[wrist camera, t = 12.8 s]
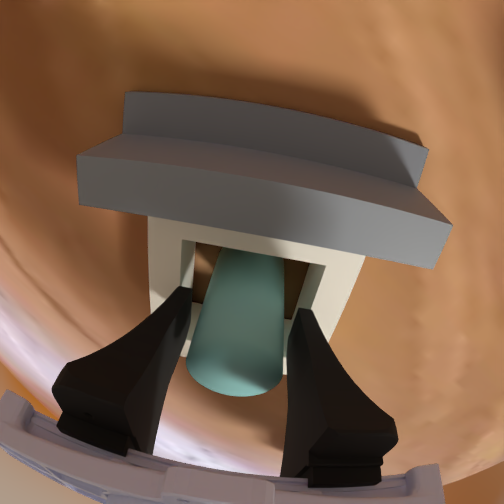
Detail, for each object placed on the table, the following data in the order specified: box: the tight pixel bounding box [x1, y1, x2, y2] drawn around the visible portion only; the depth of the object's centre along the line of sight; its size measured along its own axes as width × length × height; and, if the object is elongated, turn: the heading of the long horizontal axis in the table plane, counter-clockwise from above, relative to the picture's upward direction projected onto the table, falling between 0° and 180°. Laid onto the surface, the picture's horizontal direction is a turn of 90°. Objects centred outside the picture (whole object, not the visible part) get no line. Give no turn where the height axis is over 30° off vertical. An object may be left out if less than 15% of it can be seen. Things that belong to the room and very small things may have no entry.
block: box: [148, 216, 365, 375], centre depth 16 cm, size 9×9×3 cm
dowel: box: [186, 247, 284, 396], centre depth 14 cm, size 4×4×7 cm
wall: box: [76, 91, 453, 269], centre depth 12 cm, size 4×14×4 cm, turn 81°
